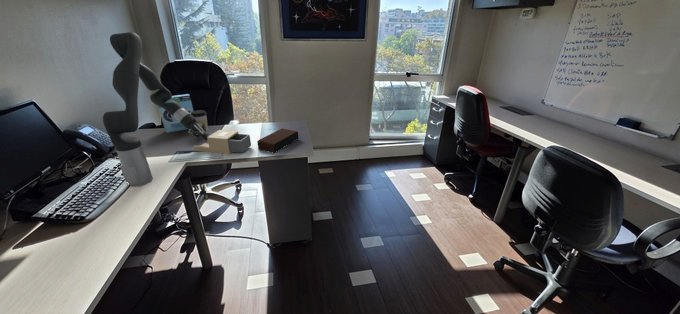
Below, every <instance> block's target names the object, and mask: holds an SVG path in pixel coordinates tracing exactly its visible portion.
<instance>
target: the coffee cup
mask: <svg viewBox="0 0 680 314" xmlns="http://www.w3.org/2000/svg"><path fill="white" fill-rule="evenodd" d="M191 115H192V116H193V117H194V118H195V119H196V121H197V122H199V123H200V124H203V123H204V124H205V127H206V132H205V133H206V134H207V135H209V129H208V125H209V124H208V118H207V115H208V113H207V112H206V111H205V110H203V109H197V110H193V112H191Z"/></svg>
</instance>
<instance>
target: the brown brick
mask: <svg viewBox="0 0 680 314" xmlns="http://www.w3.org/2000/svg"><path fill="white" fill-rule="evenodd" d="M296 139H298V140H299V132H298V131H297V130H292V129H288V128H287V129H286V128H280V129H278V130H276V131H274V132H272V133H270V134H268V135H265V136H264V137H261V138H259V139H258V140H257V141H256V142H257V148H258V149H257V150H259V149H260V150H259V151H263V150H265V151H264V152H267V151H269V153H272V152H273V154H276V153H277V152H279V151H281V150H282V149H284V148H285V147H284V146H286V145H287V146H289V145H291V144H292V143H291V142H293V141H294V140H296ZM296 141H297V140H296ZM294 142H295V141H294ZM294 142H293V143H294ZM290 143H291V144H290ZM288 144H289V145H288ZM287 146H286V147H287ZM283 147H284V148H283ZM281 148H282V149H281ZM280 149H281V150H280ZM278 150H279V151H278ZM276 151H277V152H276ZM275 152H276V153H275Z"/></svg>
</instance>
